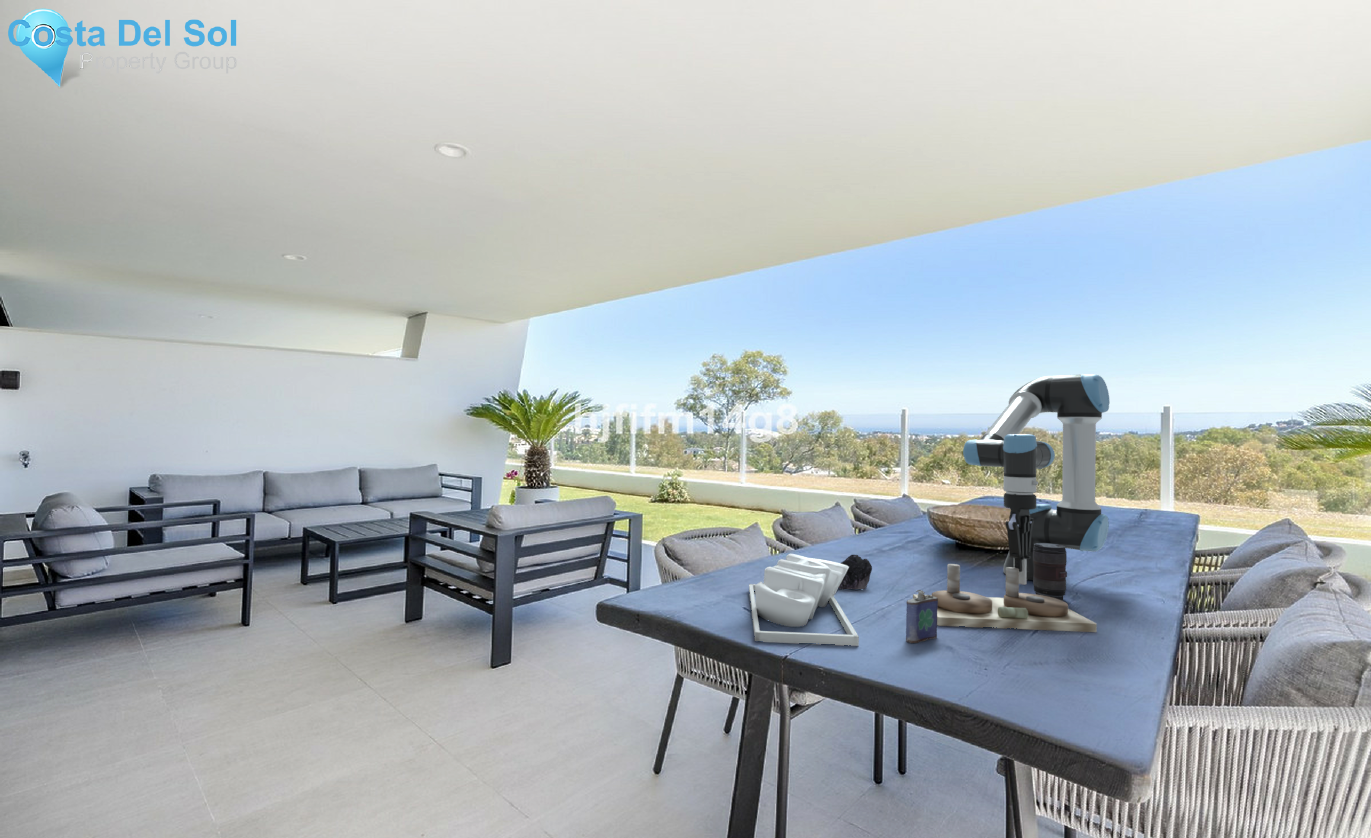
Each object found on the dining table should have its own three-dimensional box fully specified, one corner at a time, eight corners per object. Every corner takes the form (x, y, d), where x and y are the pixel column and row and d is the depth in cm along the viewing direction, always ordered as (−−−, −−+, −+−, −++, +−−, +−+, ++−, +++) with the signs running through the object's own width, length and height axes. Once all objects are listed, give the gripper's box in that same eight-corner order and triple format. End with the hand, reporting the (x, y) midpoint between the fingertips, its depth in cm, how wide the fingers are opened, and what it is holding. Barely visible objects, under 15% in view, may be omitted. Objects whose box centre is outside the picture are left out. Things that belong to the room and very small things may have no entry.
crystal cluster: (814, 586, 182) (815, 554, 181) (841, 576, 191) (842, 545, 190) (851, 600, 172) (853, 565, 171) (879, 588, 180) (880, 556, 179)
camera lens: (1057, 595, 174) (1057, 542, 174) (1072, 603, 166) (1072, 548, 166) (1027, 593, 175) (1027, 541, 175) (1041, 601, 167) (1041, 547, 167)
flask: (912, 644, 131) (913, 594, 131) (901, 640, 134) (902, 591, 134) (940, 637, 136) (940, 589, 136) (928, 633, 138) (929, 586, 139)
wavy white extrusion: (796, 581, 174) (799, 546, 173) (852, 598, 165) (856, 560, 164) (737, 618, 145) (742, 576, 144) (802, 641, 136) (807, 595, 135)
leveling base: (1051, 607, 162) (1051, 590, 162) (1096, 632, 142) (1096, 613, 142) (912, 601, 164) (913, 585, 164) (938, 625, 144) (938, 607, 144)
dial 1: (978, 598, 160) (978, 564, 160) (1002, 614, 146) (1002, 577, 146) (924, 596, 161) (924, 563, 161) (942, 612, 147) (942, 575, 147)
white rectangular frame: (827, 594, 170) (827, 587, 170) (858, 646, 129) (858, 636, 129) (749, 591, 172) (749, 584, 172) (755, 641, 131) (755, 632, 131)
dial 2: (1017, 596, 162) (1017, 563, 162) (1076, 609, 151) (1076, 574, 152) (994, 606, 153) (994, 571, 153) (1055, 620, 142) (1055, 582, 143)
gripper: (1025, 495, 152) (1026, 590, 151) (1044, 492, 160) (1044, 582, 160) (994, 493, 157) (994, 584, 157) (1014, 490, 166) (1014, 577, 165)
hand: (1020, 583), depth 158 cm, fingers closed
